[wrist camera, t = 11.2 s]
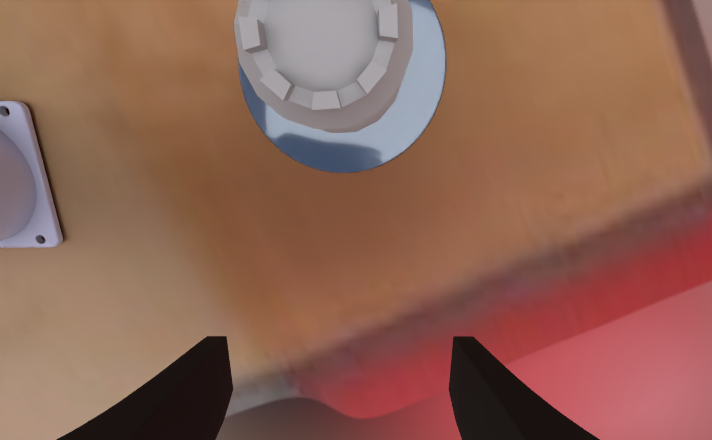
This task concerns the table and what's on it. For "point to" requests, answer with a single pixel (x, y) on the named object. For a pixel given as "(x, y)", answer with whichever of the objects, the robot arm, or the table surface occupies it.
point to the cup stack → (380, 137)
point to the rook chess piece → (325, 58)
